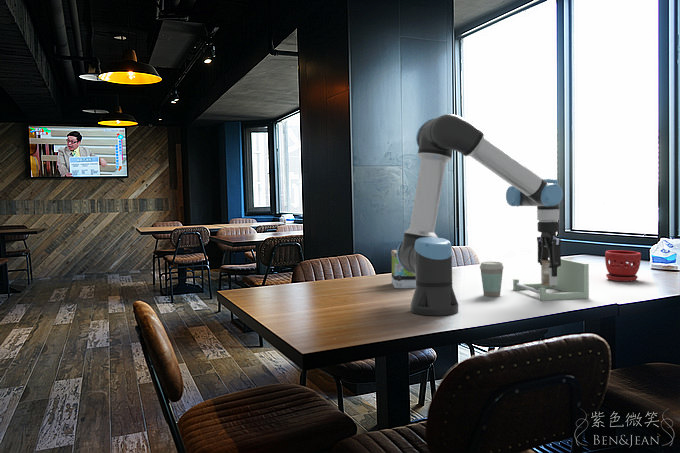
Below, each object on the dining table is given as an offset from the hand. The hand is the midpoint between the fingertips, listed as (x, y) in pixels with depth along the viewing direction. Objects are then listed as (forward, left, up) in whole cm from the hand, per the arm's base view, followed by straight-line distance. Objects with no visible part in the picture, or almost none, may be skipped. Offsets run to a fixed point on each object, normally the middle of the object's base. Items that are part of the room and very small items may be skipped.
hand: (549, 283), depth 197 cm
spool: (0, 0, 0) cm, 0 cm away
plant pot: (+43, +21, -4) cm, 48 cm away
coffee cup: (-21, +2, -4) cm, 22 cm away
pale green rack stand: (0, 0, -4) cm, 4 cm away
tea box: (-47, +32, -4) cm, 57 cm away
